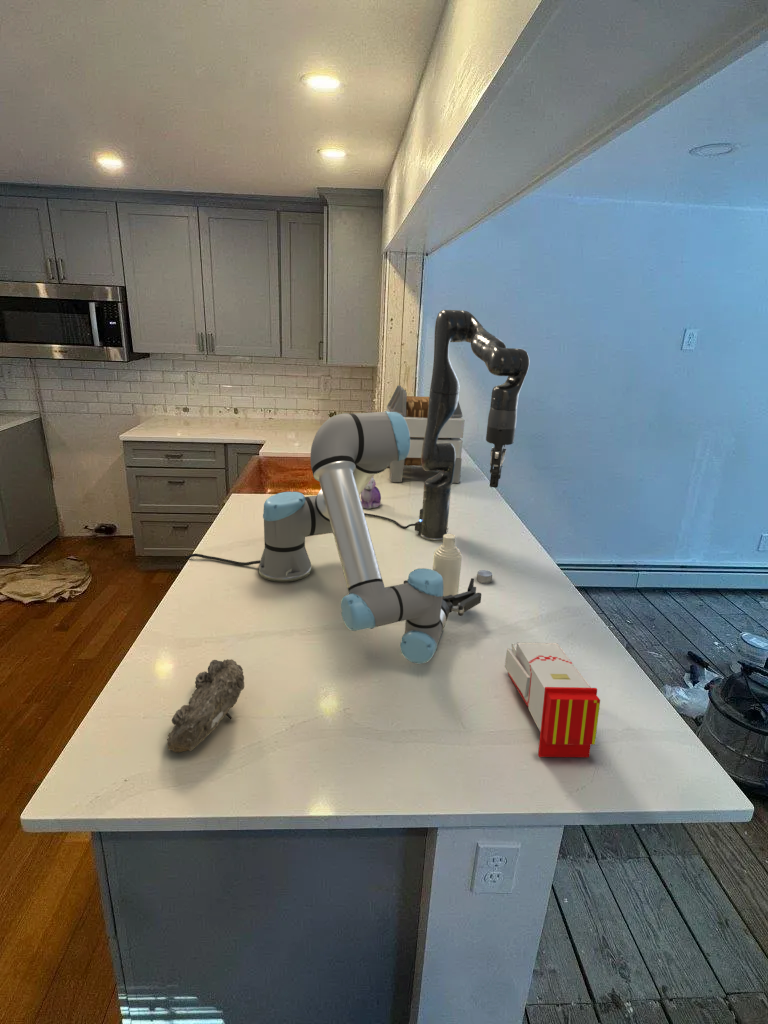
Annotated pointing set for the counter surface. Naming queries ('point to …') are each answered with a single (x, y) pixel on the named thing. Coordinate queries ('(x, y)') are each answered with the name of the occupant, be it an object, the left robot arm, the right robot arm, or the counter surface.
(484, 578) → the cap
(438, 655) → the counter surface
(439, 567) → the ribbed frosted cylinder
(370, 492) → the figurine
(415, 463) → the transformer
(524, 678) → the toy
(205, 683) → the fossil
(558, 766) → the counter surface
